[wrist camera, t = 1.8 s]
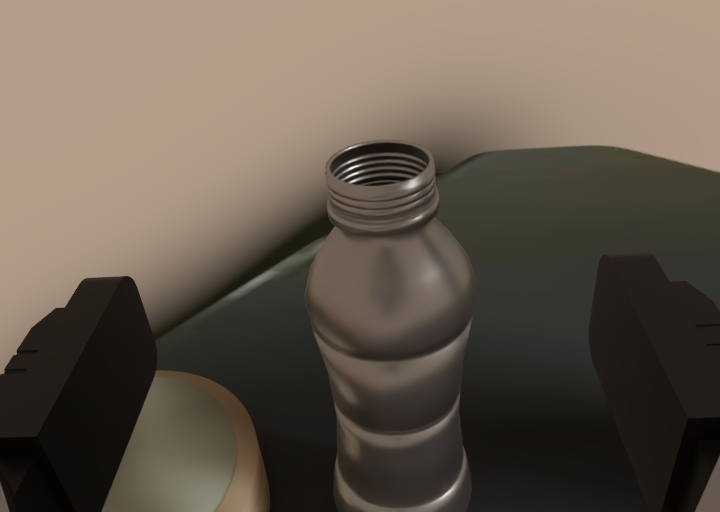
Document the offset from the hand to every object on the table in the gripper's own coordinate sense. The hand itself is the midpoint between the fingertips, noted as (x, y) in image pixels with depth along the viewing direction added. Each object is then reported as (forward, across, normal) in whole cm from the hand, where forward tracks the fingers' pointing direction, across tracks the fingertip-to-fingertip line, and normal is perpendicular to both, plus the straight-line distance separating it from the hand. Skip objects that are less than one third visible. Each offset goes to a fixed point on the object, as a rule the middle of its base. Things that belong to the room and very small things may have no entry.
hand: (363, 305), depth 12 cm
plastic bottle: (+11, 0, +23) cm, 26 cm away
